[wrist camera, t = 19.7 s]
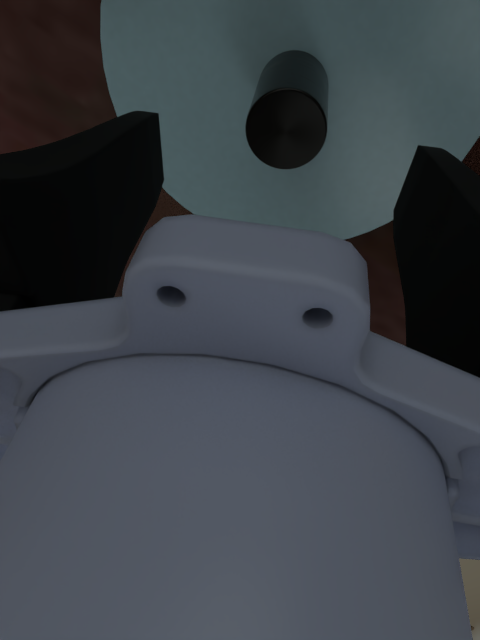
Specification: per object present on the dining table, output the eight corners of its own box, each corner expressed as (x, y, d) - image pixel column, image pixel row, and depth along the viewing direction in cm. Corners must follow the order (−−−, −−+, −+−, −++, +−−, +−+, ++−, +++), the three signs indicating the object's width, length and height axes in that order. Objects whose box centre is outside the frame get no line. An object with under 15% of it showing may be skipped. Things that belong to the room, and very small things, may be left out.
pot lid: (626, -201, 11) (743, -219, 8) (416, 251, 22) (429, 319, 19) (68, -245, 12) (-29, -276, 9) (135, 212, 23) (103, 271, 19)
